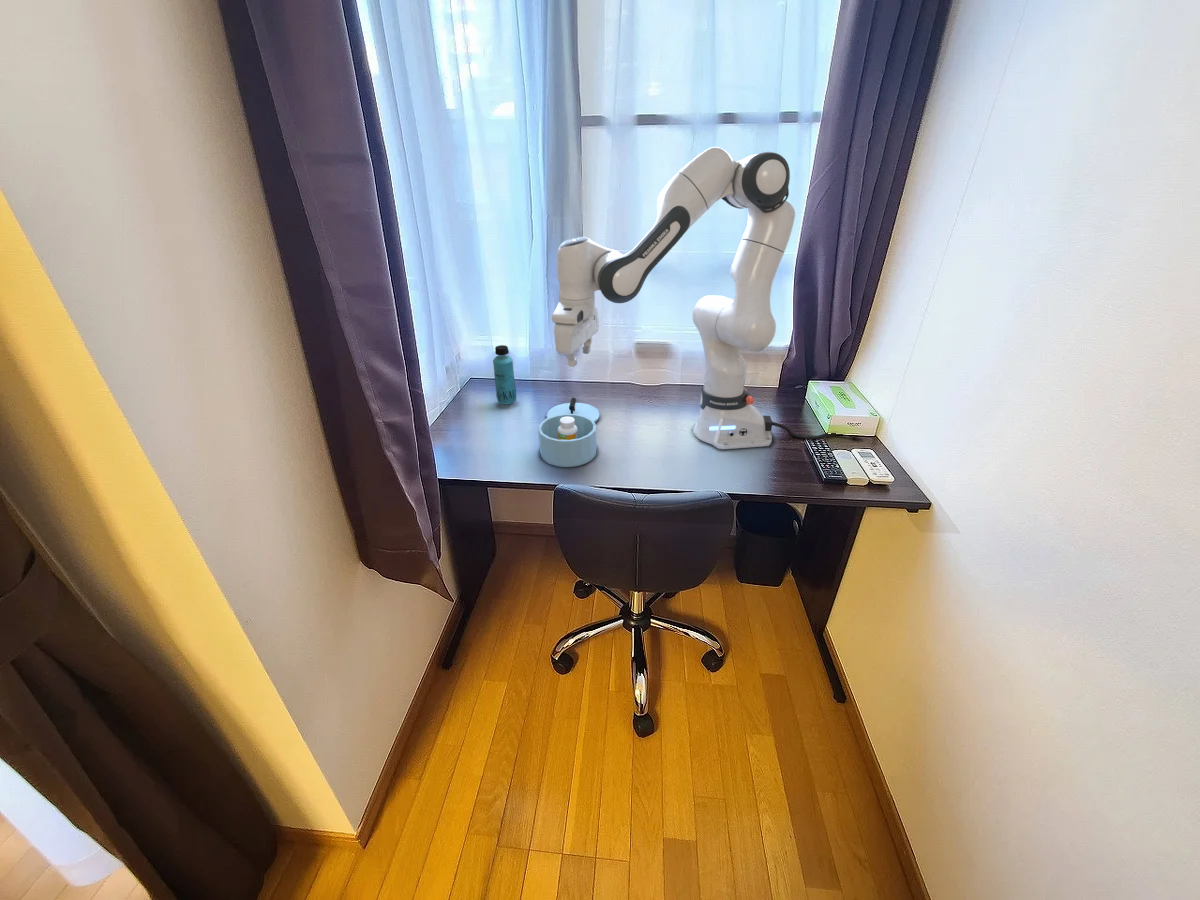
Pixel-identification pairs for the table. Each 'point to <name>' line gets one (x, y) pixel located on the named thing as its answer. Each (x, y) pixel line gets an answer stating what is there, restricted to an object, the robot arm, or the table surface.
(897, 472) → the table surface
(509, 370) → the beverage bottle
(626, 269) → the robot arm
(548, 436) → the pot
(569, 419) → the supplement bottle
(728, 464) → the table surface
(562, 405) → the lid
